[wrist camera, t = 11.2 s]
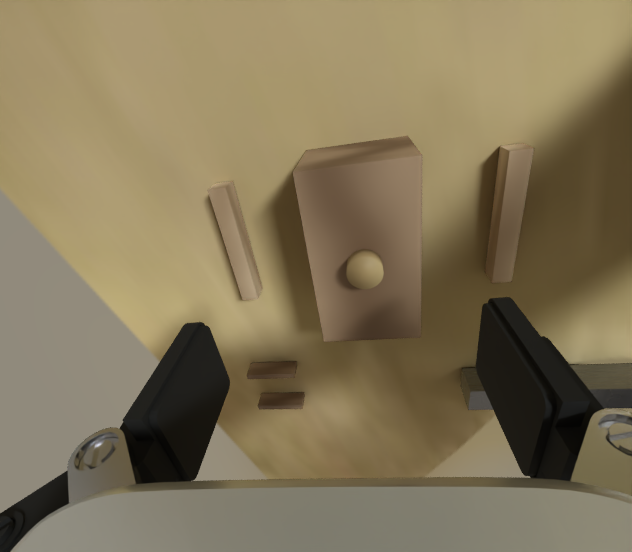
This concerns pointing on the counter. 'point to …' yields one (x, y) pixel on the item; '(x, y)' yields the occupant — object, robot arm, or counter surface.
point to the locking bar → (601, 379)
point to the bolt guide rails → (501, 238)
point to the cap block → (364, 237)
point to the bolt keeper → (276, 371)
